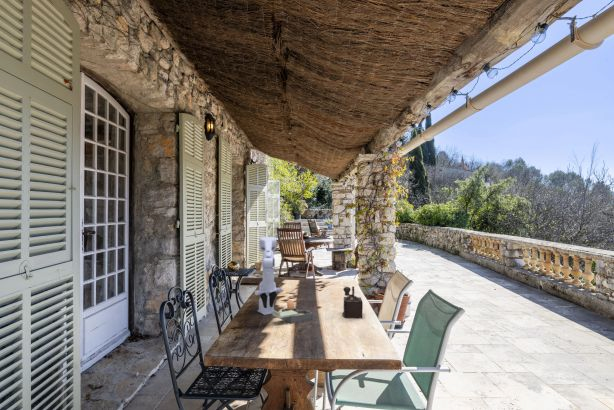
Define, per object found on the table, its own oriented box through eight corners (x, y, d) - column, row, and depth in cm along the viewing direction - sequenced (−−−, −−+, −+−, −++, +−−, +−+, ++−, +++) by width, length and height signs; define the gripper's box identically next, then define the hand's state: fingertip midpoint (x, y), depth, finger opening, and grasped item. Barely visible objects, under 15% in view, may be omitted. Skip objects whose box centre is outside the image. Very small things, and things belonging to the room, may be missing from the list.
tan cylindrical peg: (285, 313, 200) (285, 301, 200) (291, 312, 202) (292, 300, 202) (289, 315, 197) (289, 302, 197) (295, 314, 199) (295, 302, 199)
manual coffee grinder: (342, 312, 207) (342, 281, 207) (361, 313, 206) (361, 282, 206) (343, 320, 191) (343, 287, 191) (363, 321, 190) (363, 288, 191)
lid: (272, 315, 188) (272, 310, 188) (291, 311, 195) (291, 306, 195) (278, 318, 182) (278, 313, 182) (298, 314, 189) (298, 309, 189)
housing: (276, 316, 199) (276, 309, 199) (297, 312, 207) (297, 306, 207) (291, 323, 186) (291, 317, 186) (312, 319, 193) (312, 312, 193)
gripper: (259, 283, 176) (258, 311, 175) (284, 280, 184) (284, 306, 183) (253, 281, 181) (252, 307, 181) (277, 278, 190) (277, 303, 189)
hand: (268, 307), depth 183 cm, fingers open, 3 cm apart
